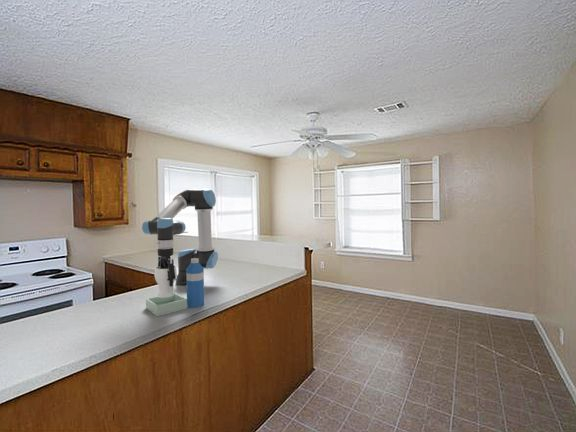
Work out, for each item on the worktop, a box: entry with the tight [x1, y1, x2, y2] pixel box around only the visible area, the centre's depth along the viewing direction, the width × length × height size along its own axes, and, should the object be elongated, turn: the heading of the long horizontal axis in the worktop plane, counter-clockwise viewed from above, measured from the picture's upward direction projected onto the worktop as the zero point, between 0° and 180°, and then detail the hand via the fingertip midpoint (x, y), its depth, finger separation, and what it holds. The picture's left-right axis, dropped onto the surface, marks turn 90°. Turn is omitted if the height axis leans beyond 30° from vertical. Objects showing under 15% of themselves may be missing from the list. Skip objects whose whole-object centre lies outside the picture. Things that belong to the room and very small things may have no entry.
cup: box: [154, 265, 178, 298], centre depth 150 cm, size 11×11×15 cm
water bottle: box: [186, 258, 205, 309], centre depth 156 cm, size 9×9×25 cm
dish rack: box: [145, 292, 188, 317], centre depth 151 cm, size 15×15×5 cm
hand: (166, 290), depth 151 cm, fingers closed on cup, 10 cm apart
